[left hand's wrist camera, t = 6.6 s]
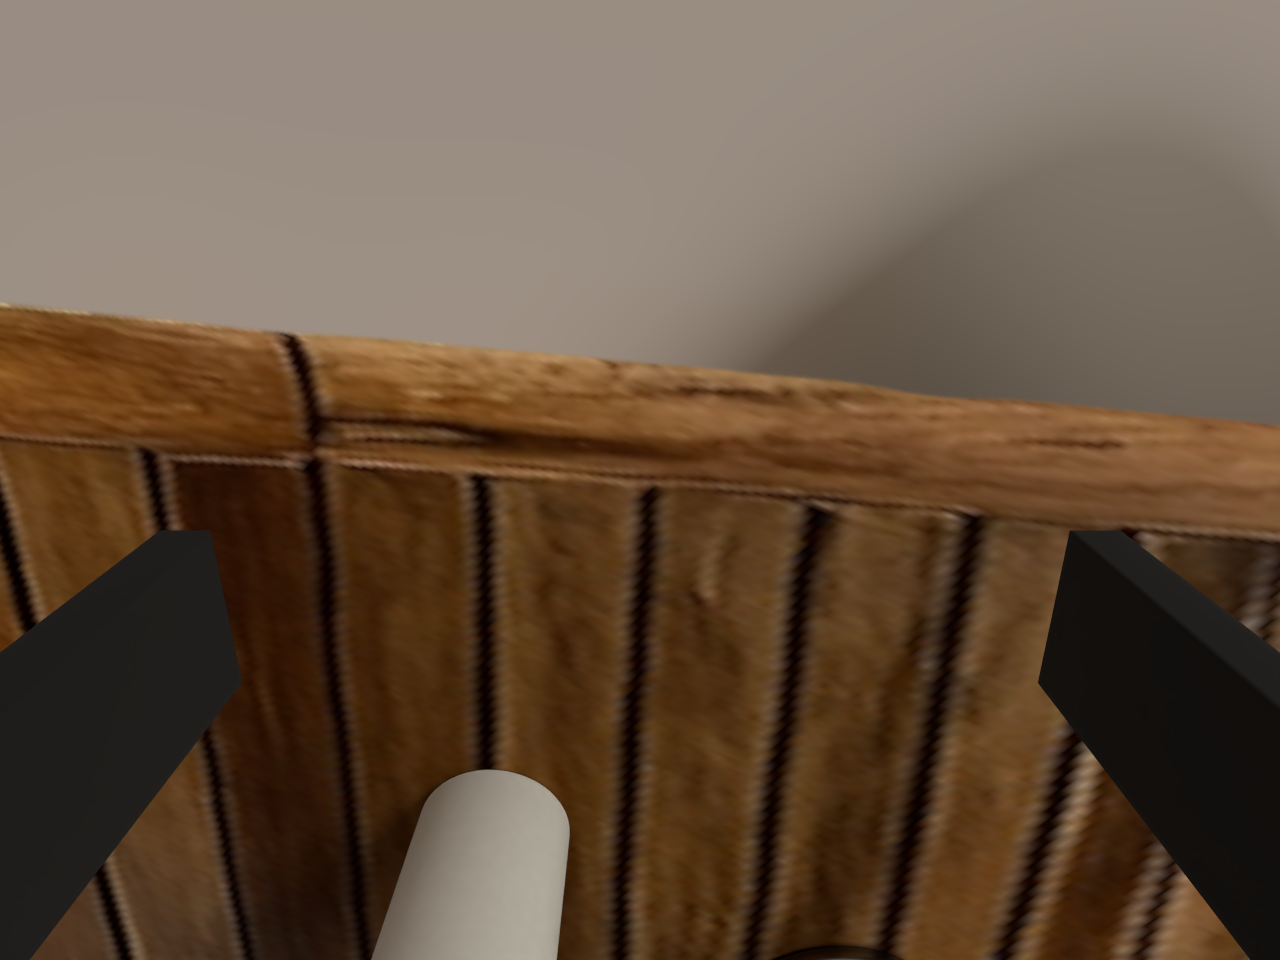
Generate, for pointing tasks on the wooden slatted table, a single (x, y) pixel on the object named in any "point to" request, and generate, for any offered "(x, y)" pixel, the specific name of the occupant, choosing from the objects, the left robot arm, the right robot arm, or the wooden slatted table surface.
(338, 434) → the wooden slatted table surface
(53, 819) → the left robot arm
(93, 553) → the wooden slatted table surface
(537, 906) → the jar
